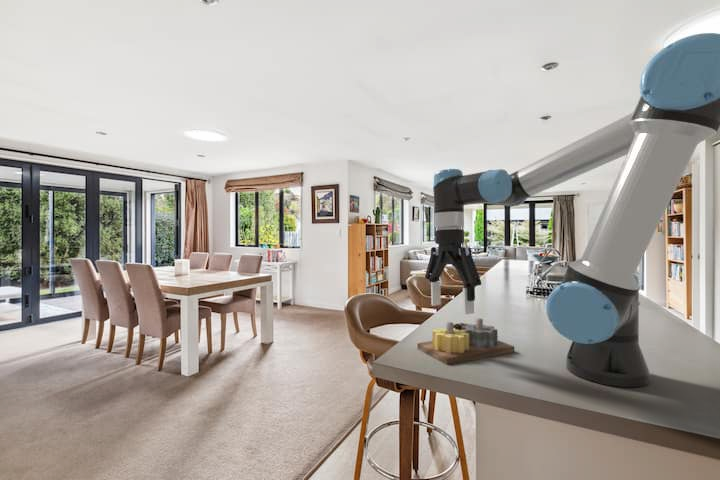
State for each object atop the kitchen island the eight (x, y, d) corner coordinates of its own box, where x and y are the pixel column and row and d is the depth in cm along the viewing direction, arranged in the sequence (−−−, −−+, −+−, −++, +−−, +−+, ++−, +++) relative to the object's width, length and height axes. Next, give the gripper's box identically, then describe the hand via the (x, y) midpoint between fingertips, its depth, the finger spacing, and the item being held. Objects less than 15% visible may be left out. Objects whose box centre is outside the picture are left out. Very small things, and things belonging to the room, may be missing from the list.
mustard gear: (447, 355, 86) (447, 339, 86) (425, 344, 94) (425, 330, 94) (476, 350, 90) (476, 334, 89) (453, 340, 98) (453, 326, 98)
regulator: (485, 333, 113) (444, 328, 110) (489, 323, 112) (448, 318, 108) (498, 347, 106) (454, 343, 103) (502, 336, 105) (459, 332, 101)
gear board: (514, 351, 92) (514, 322, 92) (446, 364, 84) (446, 331, 84) (479, 338, 104) (479, 312, 104) (417, 348, 96) (417, 319, 96)
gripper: (495, 226, 82) (497, 316, 82) (433, 230, 105) (435, 300, 105) (470, 226, 79) (472, 319, 79) (412, 231, 102) (414, 303, 102)
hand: (451, 309), depth 92 cm, fingers open, 13 cm apart
